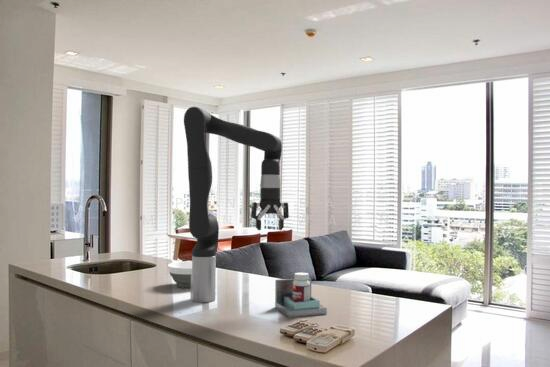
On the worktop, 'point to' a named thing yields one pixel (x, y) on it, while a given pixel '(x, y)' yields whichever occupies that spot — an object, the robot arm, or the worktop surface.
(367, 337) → the worktop surface
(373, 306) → the worktop surface
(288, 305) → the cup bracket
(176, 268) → the bowl
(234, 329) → the worktop surface
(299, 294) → the pill bottle
